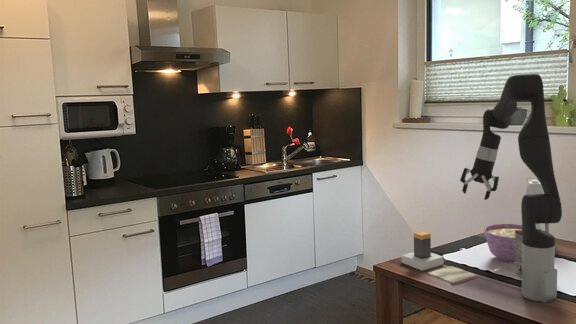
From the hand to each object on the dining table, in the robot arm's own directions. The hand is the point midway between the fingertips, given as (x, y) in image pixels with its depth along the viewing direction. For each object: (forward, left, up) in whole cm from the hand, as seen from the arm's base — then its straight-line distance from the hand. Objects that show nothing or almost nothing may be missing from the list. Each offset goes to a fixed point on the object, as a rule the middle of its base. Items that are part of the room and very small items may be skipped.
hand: (474, 196), depth 208 cm
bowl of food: (-17, 0, -22) cm, 28 cm away
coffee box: (-32, +9, -23) cm, 40 cm away
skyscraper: (-8, -27, -22) cm, 36 cm away
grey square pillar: (-1, +31, -22) cm, 37 cm away
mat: (-16, +31, -22) cm, 41 cm away
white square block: (-1, +31, -22) cm, 38 cm away
